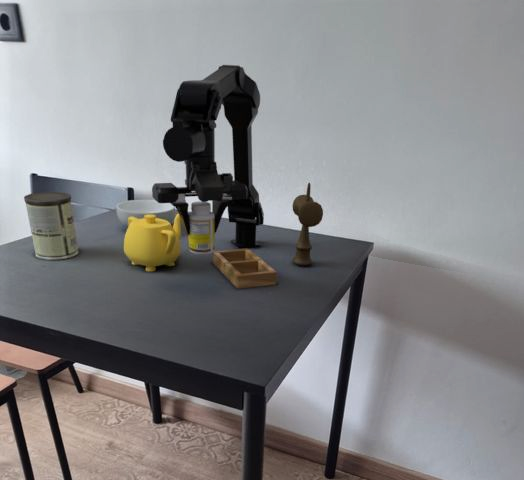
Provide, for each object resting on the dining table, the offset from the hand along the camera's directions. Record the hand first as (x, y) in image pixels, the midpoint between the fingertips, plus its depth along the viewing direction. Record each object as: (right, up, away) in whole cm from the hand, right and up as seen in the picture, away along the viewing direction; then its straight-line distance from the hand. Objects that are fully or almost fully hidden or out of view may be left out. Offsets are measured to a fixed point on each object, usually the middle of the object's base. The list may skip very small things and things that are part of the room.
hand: (201, 233), depth 103 cm
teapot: (-12, -3, +17) cm, 21 cm away
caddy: (+8, -6, +13) cm, 17 cm away
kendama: (+23, -3, +21) cm, 31 cm away
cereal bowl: (-21, +11, +41) cm, 47 cm away
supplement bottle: (0, -4, +2) cm, 4 cm away
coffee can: (-39, -1, +19) cm, 43 cm away
